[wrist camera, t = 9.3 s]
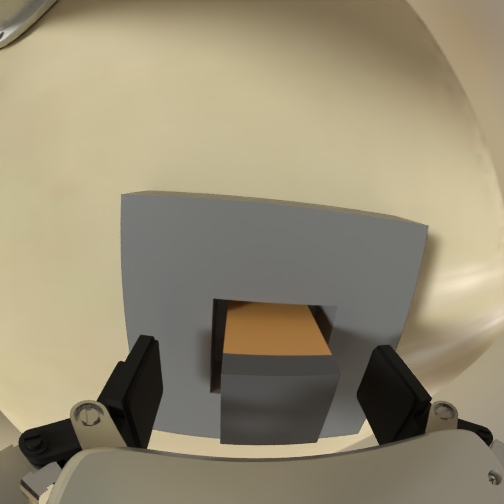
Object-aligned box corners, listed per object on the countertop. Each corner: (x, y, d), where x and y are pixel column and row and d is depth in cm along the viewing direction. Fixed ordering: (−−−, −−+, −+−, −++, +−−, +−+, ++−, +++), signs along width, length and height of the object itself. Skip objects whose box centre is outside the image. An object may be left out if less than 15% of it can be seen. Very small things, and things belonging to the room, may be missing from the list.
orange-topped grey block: (229, 291, 15) (221, 373, 8) (302, 295, 15) (341, 374, 8) (226, 352, 16) (220, 443, 9) (292, 354, 16) (316, 442, 9)
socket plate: (147, 190, 14) (121, 194, 11) (394, 215, 15) (428, 225, 11) (156, 393, 17) (144, 427, 14) (344, 401, 18) (357, 433, 15)
